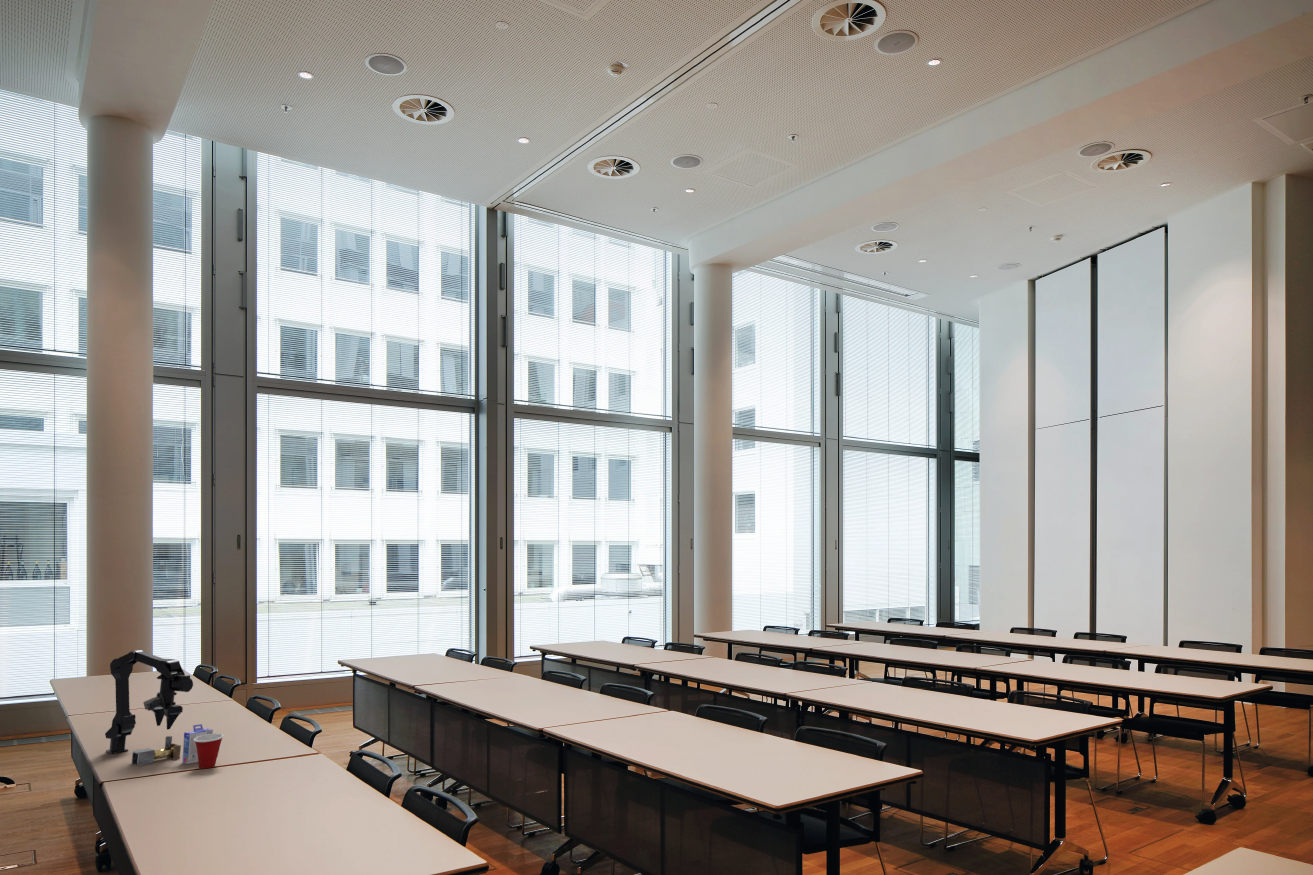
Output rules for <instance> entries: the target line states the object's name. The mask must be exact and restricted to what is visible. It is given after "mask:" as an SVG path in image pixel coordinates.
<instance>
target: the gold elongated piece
mask: <svg viewBox="0 0 1313 875" xmlns="http://www.w3.org/2000/svg"><path fill="white" fill-rule="evenodd" d="M164 742H165V744H164V749H163V748H162V749H158V750H157V749H156V750H155V751H154V761H156V760H160V759H168V757H172V756H173V752H174V747H173V748H171V745H172V744H173V743H172V742H173V736H172V735H167V736H165V741H164Z"/></svg>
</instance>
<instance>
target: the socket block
mask: <svg viewBox="0 0 1313 875" xmlns="http://www.w3.org/2000/svg"><path fill="white" fill-rule="evenodd" d="M173 747H174V752H173V756H172V757H167V759H171V760H176V759H180V758H181V747H182V745H181V744H178V743H175V742H174V743H172V745H171V748H173Z"/></svg>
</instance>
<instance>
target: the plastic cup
mask: <svg viewBox="0 0 1313 875" xmlns="http://www.w3.org/2000/svg"><path fill="white" fill-rule="evenodd" d="M223 738H224V733H223V734H222V733H217V732H216V733H213V734H206V735H202V736H198V737H196V738H194V741H195V743H196V747H197V755H198V762H197V763H198V768H199V769H211V768H214V767H215V766H216V763H217V759H218V757H219V756H218V755H219V753H220V746H221V744H222V741H223Z"/></svg>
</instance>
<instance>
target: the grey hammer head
mask: <svg viewBox="0 0 1313 875" xmlns="http://www.w3.org/2000/svg"><path fill="white" fill-rule="evenodd" d="M154 751H156V750H155V749H153V748H150V747H146V748H141V749H135V750H132V753H131V755H132V756H131V763H130V764H131V765H134V766H136V767H139V766H145V765H151V764H154V761H155V760H154Z"/></svg>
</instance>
